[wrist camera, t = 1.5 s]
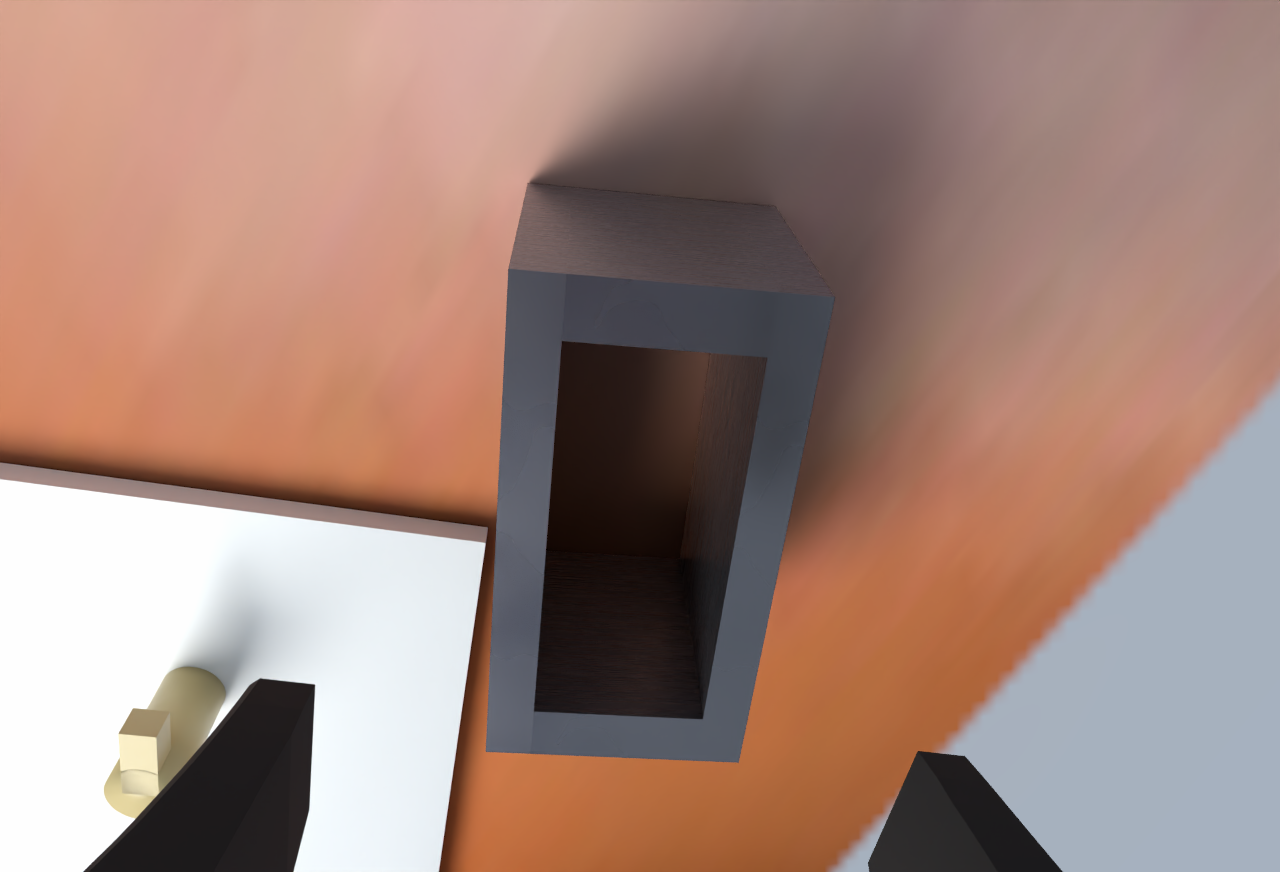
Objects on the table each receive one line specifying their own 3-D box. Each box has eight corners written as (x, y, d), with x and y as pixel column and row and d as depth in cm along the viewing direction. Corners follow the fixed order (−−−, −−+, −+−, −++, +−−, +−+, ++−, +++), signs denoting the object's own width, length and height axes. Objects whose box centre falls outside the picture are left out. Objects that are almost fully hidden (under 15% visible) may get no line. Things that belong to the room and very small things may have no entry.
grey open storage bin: (708, 596, 22) (738, 762, 18) (506, 585, 22) (485, 752, 18) (775, 206, 18) (834, 296, 14) (528, 183, 18) (508, 268, 14)
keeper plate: (435, 896, 27) (415, 1028, 24) (-39, 856, 25) (-129, 991, 22) (488, 527, 21) (470, 634, 18) (-110, 447, 20) (-244, 548, 17)
